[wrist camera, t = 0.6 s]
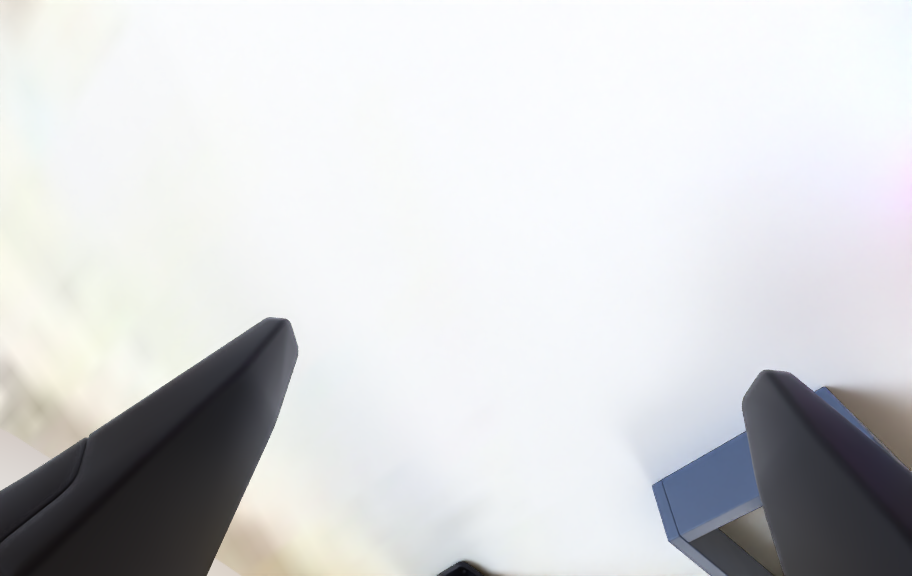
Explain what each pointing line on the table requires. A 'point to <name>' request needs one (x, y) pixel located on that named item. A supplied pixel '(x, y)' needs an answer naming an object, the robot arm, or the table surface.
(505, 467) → the table surface
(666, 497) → the box
